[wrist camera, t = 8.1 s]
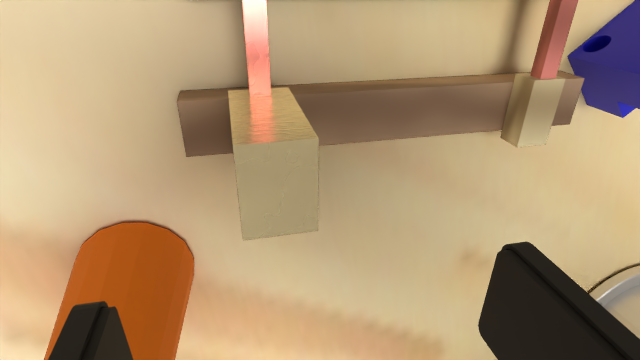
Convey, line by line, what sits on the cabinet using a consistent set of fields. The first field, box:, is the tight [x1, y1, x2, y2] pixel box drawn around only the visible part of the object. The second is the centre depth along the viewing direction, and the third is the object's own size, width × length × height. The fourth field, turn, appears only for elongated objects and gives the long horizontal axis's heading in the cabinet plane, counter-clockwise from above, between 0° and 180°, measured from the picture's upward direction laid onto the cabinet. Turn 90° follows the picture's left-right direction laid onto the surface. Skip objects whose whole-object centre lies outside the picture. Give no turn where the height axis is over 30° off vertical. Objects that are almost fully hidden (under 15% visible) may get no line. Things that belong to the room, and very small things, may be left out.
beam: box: [177, 0, 585, 157], centre depth 21 cm, size 10×24×4 cm, turn 90°
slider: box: [228, 0, 319, 240], centre depth 16 cm, size 10×3×7 cm, turn 0°
